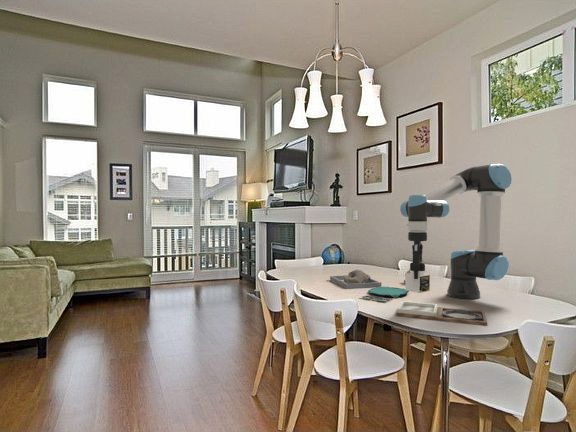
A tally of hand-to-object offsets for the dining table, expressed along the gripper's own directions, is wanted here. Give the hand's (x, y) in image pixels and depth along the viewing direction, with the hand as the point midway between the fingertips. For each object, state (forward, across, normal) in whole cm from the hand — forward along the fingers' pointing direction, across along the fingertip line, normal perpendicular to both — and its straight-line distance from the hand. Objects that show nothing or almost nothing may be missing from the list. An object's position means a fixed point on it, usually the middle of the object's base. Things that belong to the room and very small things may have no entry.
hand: (417, 284), depth 159 cm
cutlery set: (+12, -28, -19) cm, 36 cm away
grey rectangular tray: (+12, -54, -41) cm, 69 cm away
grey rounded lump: (+12, -52, -39) cm, 66 cm away
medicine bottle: (+3, 0, 0) cm, 3 cm away
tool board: (+12, 0, +9) cm, 15 cm away
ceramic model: (+12, -65, -8) cm, 67 cm away
